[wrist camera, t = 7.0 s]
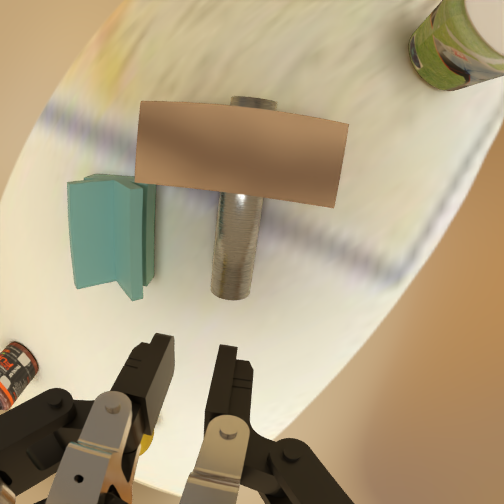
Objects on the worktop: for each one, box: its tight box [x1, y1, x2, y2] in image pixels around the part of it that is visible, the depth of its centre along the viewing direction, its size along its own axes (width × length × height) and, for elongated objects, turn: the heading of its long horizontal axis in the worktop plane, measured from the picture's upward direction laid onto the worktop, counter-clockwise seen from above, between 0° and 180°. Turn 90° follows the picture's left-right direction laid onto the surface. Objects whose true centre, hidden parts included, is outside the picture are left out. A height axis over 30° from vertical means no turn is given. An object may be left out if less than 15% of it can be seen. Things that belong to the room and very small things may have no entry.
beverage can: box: [409, 0, 504, 91], centre depth 14 cm, size 6×7×12 cm
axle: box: [211, 96, 277, 300], centre depth 22 cm, size 14×3×3 cm, turn 172°
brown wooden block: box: [135, 101, 349, 208], centre depth 21 cm, size 10×12×7 cm
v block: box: [67, 174, 156, 301], centre depth 25 cm, size 9×7×5 cm
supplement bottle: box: [0, 342, 38, 410], centre depth 30 cm, size 6×6×11 cm
